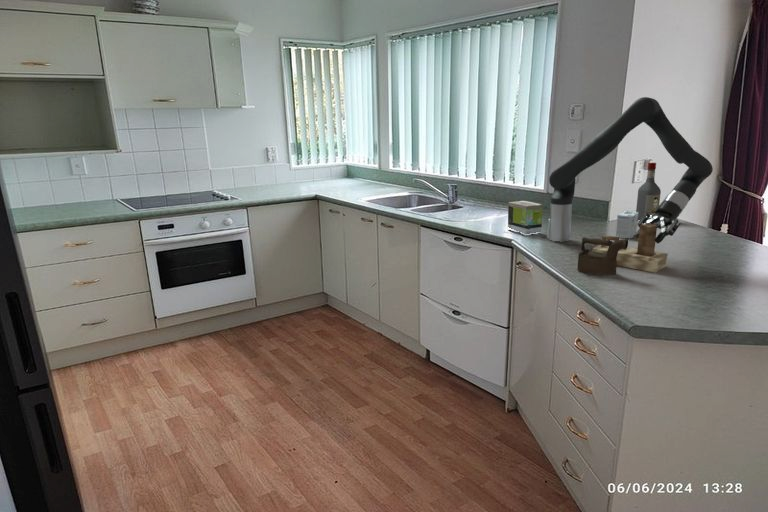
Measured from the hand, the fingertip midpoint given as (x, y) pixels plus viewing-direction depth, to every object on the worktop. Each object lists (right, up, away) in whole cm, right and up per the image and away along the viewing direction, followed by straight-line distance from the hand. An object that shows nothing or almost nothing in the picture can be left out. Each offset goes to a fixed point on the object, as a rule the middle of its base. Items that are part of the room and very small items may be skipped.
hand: (646, 239), depth 185 cm
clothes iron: (-18, -12, 0) cm, 22 cm away
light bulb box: (+15, +3, +47) cm, 50 cm away
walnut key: (+1, -10, +3) cm, 11 cm away
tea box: (-28, +6, +63) cm, 69 cm away
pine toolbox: (-3, -9, +7) cm, 12 cm away
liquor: (+39, +12, +74) cm, 85 cm away
